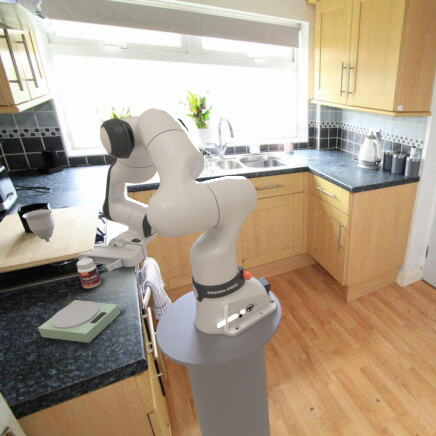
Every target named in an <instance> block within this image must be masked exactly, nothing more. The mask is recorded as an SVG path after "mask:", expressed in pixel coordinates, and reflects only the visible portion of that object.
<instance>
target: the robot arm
mask: <svg viewBox="0 0 436 436" xmlns="http://www.w3.org/2000/svg"><path fill="white" fill-rule="evenodd" d="M99 139H100V142H101V145H102V146H103V148H104V149H105V151H106V152H107V154H108V155H109V156H111V157H112V158H115V159H116V161H114V162H112V163H111V164H110V165H109V167H108V169H107V175H106V176H107V177H106V183H105V195H104V196H105V197H104V200H103V204H102V208H101V210H102V214H103V217H104V218H105V219H106V220H107V221H111V222H113V223H117V224H120V225H123V226H126V227H127V228H128V229H126V231H123V232H120V233H119V234H117V235H116V236H114V237H113V238H111V239H110V240H109V242H108V244H106V243H94V249H93V251H87V252H82V253H79V254H80V257H77V260H78V261H80V260H82V259H87V258H91V259H93V262H94V264H95V265H104V267H103V268H104V271H105V272H112V271H113V270H115V269H118V268H122V267H127V268H132V267H133V268H134V267H136V266H138V265H140V263H142V262H143V261H144V260H145V259H147V258H148V255H149V254H148V249H147V246H148V245H149V244H152V242H153V241H154V240H156V238H157V237H158V235H159V236H160V237H163V238H166V239H167V238H177V237H184V236H189V235H193V234H197V233H199V232H202V231H203V232H202V233H201V235H200V236H199V237H198V238H197V239H196V240H195V241H194V242H193V244H192V245H191V247H190V251H189V259H190V265H191V270H192V276H191V282H192V286H191V287H192V291H194V296H195V298H196V314H195V319H194V323H195V326H196V327H197V329H198V330H200V331H201V332H204V333H207V334H224V335H227V336H231V337H234V336H237V335H238V334H240V333H241V332H243V331H244V330H246V329H247V328H249V327H251V326H252V325H254V324H255V323H257V322H258V321H260V320H261V319H263V318H264V317H266V316H268V315H269V314H271V313H272V312H274V311H275V310H276V309H277V305H276V300H275V298H274V297H273V295H272V294H271V293H270V292H269V291H271V283H270V281H268V280H267V279H266V278H265V277H263V276H261V277H258V278H256V277H255V276H253V274H252V273H251V272H250V271H249V270H245V267H243V266H242V265H240V264H239V263H238V251H237V250H238V249H237V248H238V241H239V237H240V233H241V231H242V228H243V226H244V224H245V222H246V221H247V219H248V218H249V216H250V215H251V214H252V213H253V212H254V211H255V209H256V207H257V204H258V193H257V190H256V187H255V185H254V184H253V183H252V182H251V180H249V178H246V177H245V176H223V177H218V178H213V179H209V180H208V179H207V180H204V181H197V179H198V178H199V177H200V176H201V174H202V173H203V171H204V169H205V164H206V163H205V158H204V155H203V153H202V152H201V150H200V149H199V147H198V145H197V144H196V143H195V140H193V138H192V136H191V135H190V132H189V129H188V126H187V124H186V123H185V121H184V120H183V119H181V118H180V117H179V116H175V115H173V114H172V113H171V112H170V111H168V110H167V109H164V108H161V107H160V108H159V107H152V108H148V109H146V110H144V111H143V112H141V113H140V115H135V116H134V115H133V116H126V117H121V118H119V117H113V118H109V119H107V120H104V121H103V122H102V124H101V125H100V127H99ZM156 174H158V176H159V186H158V188H157V190H156V192H155V193H154V194H153V195H152V196H151V197H150V199H149V200H148V202H147V204H145V203H143V202H140V201H138V200H135V199H132V198H130V197H128V196H127V195H126V194H125V189H126V184H134V185H137V184H142V183H146V182H148V181H150V180H152V178H154V177H155V175H156ZM76 268H77V269H78V266H77V265H76ZM237 329H238V330H237Z"/></svg>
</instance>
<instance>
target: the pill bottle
mask: <svg viewBox="0 0 436 436" xmlns="http://www.w3.org/2000/svg"><path fill="white" fill-rule="evenodd" d="M77 266H78V268H77V274H78V277H79V279H80V282H81V284H82V288H83V289H94V288H96V287H98V286H99V285H100V284H101V283H102V281H101V277H100V273H99V270H98V267H97V264H94V262H93V259H91V258H87V259H82V260H80V261H79V260H78V261H77V262H76V267H77Z"/></svg>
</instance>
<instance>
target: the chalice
mask: <svg viewBox="0 0 436 436" xmlns="http://www.w3.org/2000/svg"><path fill="white" fill-rule="evenodd" d="M22 218H24V219H26V223H27V225H28V227H29V230H30V231H31V232H32V233H33V234H34V235H35V236H36V237H38V238H39V239H40V240H45V243H46V242H51V240H50V238H52V237H53V233H54V230H55V222H54V219H53V217H52V210H51V209H36V210H32V211H29V212H26V213H24V214H23V215H22Z"/></svg>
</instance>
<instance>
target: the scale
mask: <svg viewBox="0 0 436 436" xmlns="http://www.w3.org/2000/svg"><path fill="white" fill-rule="evenodd" d="M120 314H121V310H120V306H119V304H117V303H105V302H98V301H91V300H81V299H80V300H78V299H74V300H73V301H71V302H70V303H69V304H68V305H66V306H65V307H63V308H61V309H60V310H59V311H57V312H56V313H55V314H54V315H53V316H51V317H50V318H49V319H48V320H46V321H45V322H44V323H42V324H41V325H40V326H39V327H37V330H38V332H39V333H40V336H41V338H46V339H55V340H62V341H71V342H79V343H86V344H87V343H88V344H90V343H91V342H92V341H93V340H94V339H95V338H96V337H97V336H98V335H99V334H100V333H102V331H104V330H105V328H107V327H108V326H109V325H110V324H111V323H112V322H113V321H114V320H115V319H116V318H117V317H118V316H119V315H120Z"/></svg>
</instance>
